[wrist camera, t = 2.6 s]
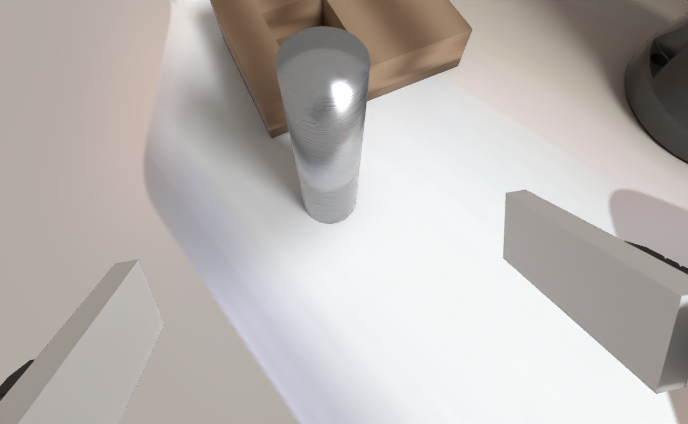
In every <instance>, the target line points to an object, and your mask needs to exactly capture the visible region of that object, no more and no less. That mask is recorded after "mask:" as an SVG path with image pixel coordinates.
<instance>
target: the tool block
mask: <svg viewBox="0 0 688 424" xmlns="http://www.w3.org/2000/svg"><path fill="white" fill-rule="evenodd" d="M210 1H211V4H212V7H213V10H214V12H215V15H216V18H217V21H218V24H219V27H220V30H221V32H222V35H223V38H224V40H225V42H226V45H227V47H228V49H229V51H230V53H231V55H232V57H233V59H234V61H235V63H236V65H237V67H238V69H239V72H240V74H241V76H242V78H243V80H244V82H245V84H246V86H247V88H248V90H249V92H250V94H251V97H252V99H253V101H254V103H255V105H256V107H257V109H258V111H259V113H260V115H261V117H262V119H263V121H264V124H265V126H266V128H267V130H268V132H269V134H270V136H271V138H273V137H276V136H278V135H281V134H284V133H286V132H289V130H288V125H287V120H286V116H285V111H284V106H283V101H282V97H281V92H280V87H279V82H278V77H277V73H276V68H275V60H276V55H277V52H278V50H279V48H280V47H281V45H282V44H283V43H284V42H285V41H286V40H287V39H288V38H289V37H290V36H292V35H293V34H295V33H297V32H299V31H302V30H304V29H308V28H312V27H321V26H325V27H334V28H339V29H342V30H345V31H347V32H349V33H351V34H353V35H355V36H356V37H357V38H358V39H359V40H361V41H362V43H363V44H364V45H365V46H366V48H367V50H368V52H369V55H370V64H371V65H370V74H369V84H368V93H367V101H369V100H371V99H374V98H376V97H379V96H382V95H384V94H387V93H389V92H392V91H394V90H397V89H400V88H402V87H405V86H407V85H410V84H413V83H415V82H418V81H420V80H423V79H425V78H428V77H431V76H433V75H436V74H438V73H441V72H443V71H446V70H449V69H451V68H454V67H456V66H458V64H459V62H460V59H461V57H462V54H463V52H464V49H465V47H466V44H467V42H468V39H469V37H470V34H471V32H472V28H471V27H470V25H469V24H468V23H467V22H466V21H465V19H464V18H463V17H462V16H461V14H460V13H459V12H458V11H457V10H456V8H455V7H454V6H453V5H452V3H451V2H450V1H449V0H210Z"/></svg>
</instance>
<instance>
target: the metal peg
mask: <svg viewBox="0 0 688 424" xmlns="http://www.w3.org/2000/svg"><path fill="white" fill-rule="evenodd" d="M370 65H371V64H370V55H369V52H368V50H367V48H366V46H365V45H364V44H363V43H362V41H361V40H359V39H358V38H357V37H356V36H355V35H353V34H351V33H349V32H347V31H345V30H342V29H339V28H334V27H325V26H321V27H312V28H308V29H304V30H302V31H299V32H297V33H295V34H293V35H292V36H290V37H289V38H288V39H287V40H286V41H285V42H284V43H283V44H282V45H281V47H280V48H279V50H278V52H277V55H276V60H275V68H276V73H277V77H278V82H279V87H280V92H281V97H282V101H283V106H284V111H285V116H286V120H287V125H288V130H289V135H290V139H291V144H292V149H293V154H294V159H295V163H296V168H297V173H298V178H299V182H300V187H301V192H302V197H303V201H304V206H305V209H306V211H307V212H308V214H309V215H310V216H311V217H312V218H314V219H315V220H317V221H319V222H322V223H327V224H332V223H338V222H340V221H343V220H344V219H346V218H347V217H348V216H349V215H350V214H351V213H352V211H353V210H354V208H355V204H356V196H357V187H358V177H359V168H360V158H361V149H362V140H363V130H364V121H365V112H366V102H367V93H368V84H369V74H370Z"/></svg>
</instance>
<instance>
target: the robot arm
mask: <svg viewBox="0 0 688 424" xmlns="http://www.w3.org/2000/svg"><path fill="white" fill-rule="evenodd" d="M625 86H626V92H627V97H628V100H629V103H630V105H631V107H632V109H633V111H634V113H635V115H636V117H637V118H638V120H639V121H640V122H641V124H642V125H643V126H644V128H645V129H646V130H647V131H648V132H649V133H650V134H651V135H652V136H653V137H654V138H655V139H656V140H657V141H658V142H659V143H660V144H661V145H663V146H664V147H665V148H666V149H668V150H669V151H670V152H672V153H673V154H675V155H676V156H678V157H680V158H681V159H683V160H685V161H687V162H688V13H687V14H685V15H684V16H682V17H680V18H679V19H677V20H675V21H674V22H672V23H670V24H669V25H667V26H665V27H664V28H662V29H661V30H660V31H658V32H657V33H656V34H655V35H654V36H652V37H651V39H650V40H649V41H648V42H647V43H646V44H645V45H644V46H643V47H642V48H641V49H640V50H639V51H638V52H637V53H636V54H635V55H634V57H633V58H632V60H631V61H630V63H629V65H628V68H627V71H626V78H625ZM503 258H504V259H505V260H506V261H507V262H508V263H509V264H510V265H512V266H513V267H514V268H515V269H516V270H517V271H518V272H519V273H521V274H522V275H523V276H524V277H525V278H526V279H527V280H528V281H530V282H531V283H532V284H533V285H534V286H535V287H536V288H537V289H539V290H540V291H541V292H542V293H543V294H544V295H545V296H546V297H548V298H549V299H550V300H551V301H552V302H553V303H554V304H556V305H557V306H558V307H559V308H560V309H561V310H562V311H563V312H565V313H566V314H567V315H568V316H569V317H570V318H571V319H572V320H574V321H575V322H576V323H577V324H578V325H579V326H580V327H581V328H583V329H584V330H585V331H586V332H587V333H588V334H589V335H590V336H592V337H593V338H594V339H595V340H596V341H597V342H598V343H599V344H601V345H602V346H603V347H604V348H605V349H606V350H607V351H608V352H610V353H611V354H612V355H613V356H614V357H615V358H616V359H617V360H619V361H620V362H621V363H622V364H623V365H624V366H625V367H626V368H628V369H629V370H630V371H631V372H632V373H633V374H634V375H636V376H637V377H638V378H639V379H640V380H641V381H642V382H643V383H645V384H646V385H647V386H648V387H649V388H650V389H651V390H652V391H654V392H655V393H656V394H657V393H662V392H666V391H670V390H674V389H678V388H682V387H686V384H687V380H688V268H686V267H684V266H681V267H680V266H679V264H678V263H676V262H674V261H672V260H670V259H668V258H667V259H665V258H664V256H662V255H660V254H658V253H656V252H654V251H652V250H650V249H649V248H647V247H643V246H640V245H637V244H634V243H630V242H627V241H623V240H621V239H619V238H617V237H615V236H613V235H611V234H609V233H607V232H605V231H603V230H602V229H600V228H598V227H596V226H594V225H592V224H590V223H588V222H586V221H584V220H582V219H580V218H579V217H577V216H575V215H573V214H571V213H569V212H567V211H565V210H563V209H561V208H559V207H558V206H556V205H554V204H552V203H550V202H548V201H546V200H544V199H542V198H540V197H538V196H537V195H535V194H533V193H531V192H529V191H527V190H521V191H515V192H510V193H506V202H505V227H504V252H503ZM163 327H164V323H163V320H162V318H161V315H160V312H159V310H158V307H157V305H156V302H155V300H154V297H153V295H152V292H151V289H150V287H149V285H148V282H147V279H146V277H145V274H144V272H143V269H142V266H141V264H140V261H139V260H133V261H128V262H122V263H117V264H115V265H114V266H113V267H112V268H111V270H110V271H109V272H108V273H107V274H106V275H105V277H104V278H103V279H102V280H101V281H100V283H99V284H98V285H97V287H95V289H94V290H93V291H92V292H91V294H90V295H89V296H88V297H87V298H86V300H85V301H84V302H83V303H82V304H81V305H80V307H79V308H78V309H77V310H76V311H75V313H74V314H73V315H72V316H71V317H70V319H69V320H68V321H67V322H66V323H65V325H64V326H63V327H62V328H61V329H60V330H59V332H58V333H57V334H56V335H55V336H54V338H53V339H52V340H51V341H50V342H49V344H48V345H47V346H46V347H45V348H44V350H43V351H42V352H41V353H40V355H39V356H38V357H37V358H36V359H35V360H30V361H28V362H27V363H26V364H25V365H23V366H22V367H21V368H19V369H18V370H17V371H16V372H14V373H13V374H12V375H10V376H9V377H8V378H7V379H6V380H5V381H4V383H3V384H2V385H1V386H0V424H119V423H120V421H121V419H122V417H123V415H124V413H125V410H126V408H127V406H128V404H129V402H130V399H131V397H132V395H133V393H134V391H135V388H136V386H137V384H138V382H139V379H140V377H141V375H142V373H143V371H144V369H145V366H146V364H147V362H148V360H149V358H150V355H151V353H152V351H153V349H154V347H155V344H156V342H157V340H158V338H159V336H160V333H161V331H162V329H163Z"/></svg>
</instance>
